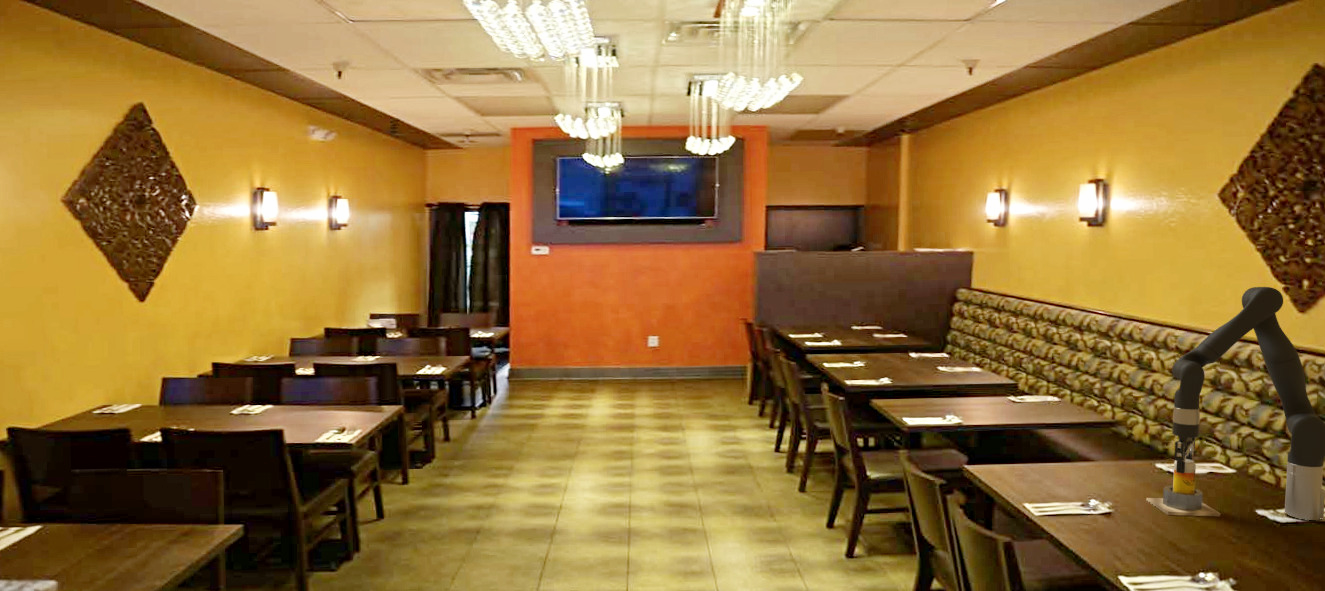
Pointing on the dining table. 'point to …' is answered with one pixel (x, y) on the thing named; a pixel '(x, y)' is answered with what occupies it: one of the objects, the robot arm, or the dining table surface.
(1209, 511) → the birch board
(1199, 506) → the gray faceted bowl
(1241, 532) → the dining table surface
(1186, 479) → the beer can
